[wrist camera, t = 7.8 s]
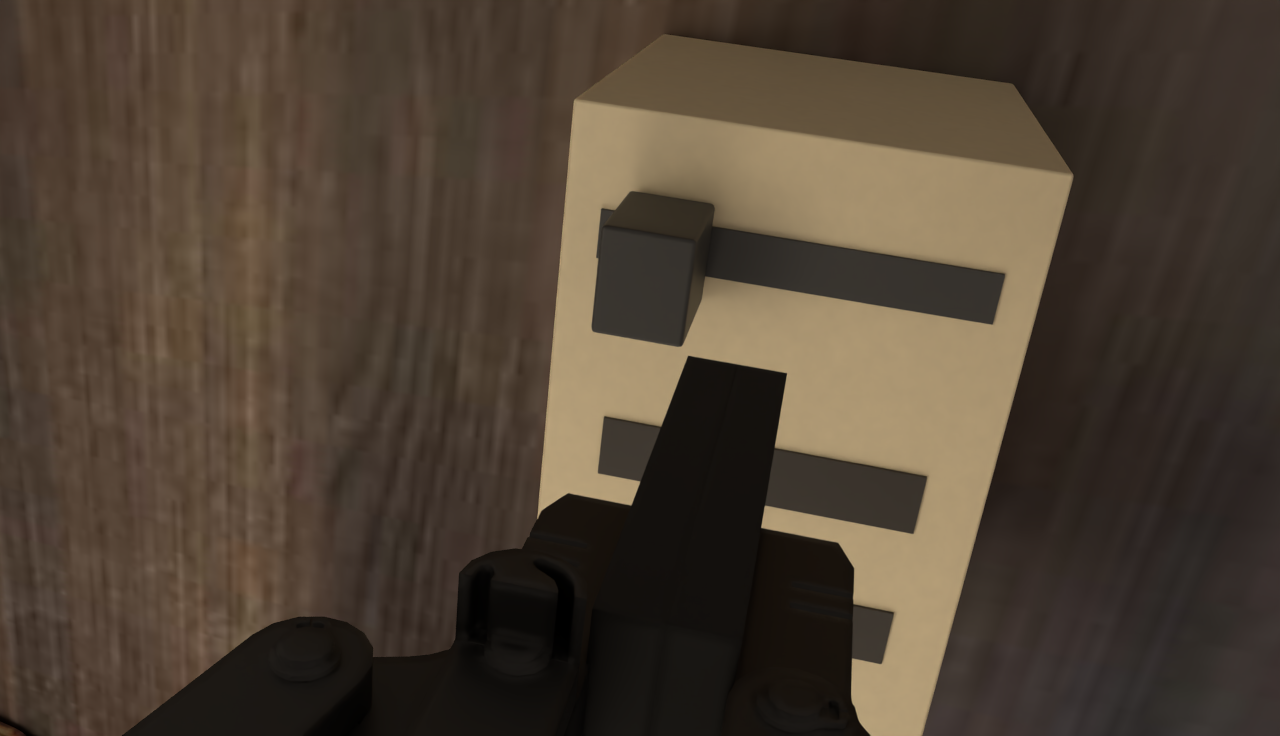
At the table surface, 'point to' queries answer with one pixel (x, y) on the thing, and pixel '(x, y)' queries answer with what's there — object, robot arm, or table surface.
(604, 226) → the button
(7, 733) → the pastry
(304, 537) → the table surface
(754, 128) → the toaster
